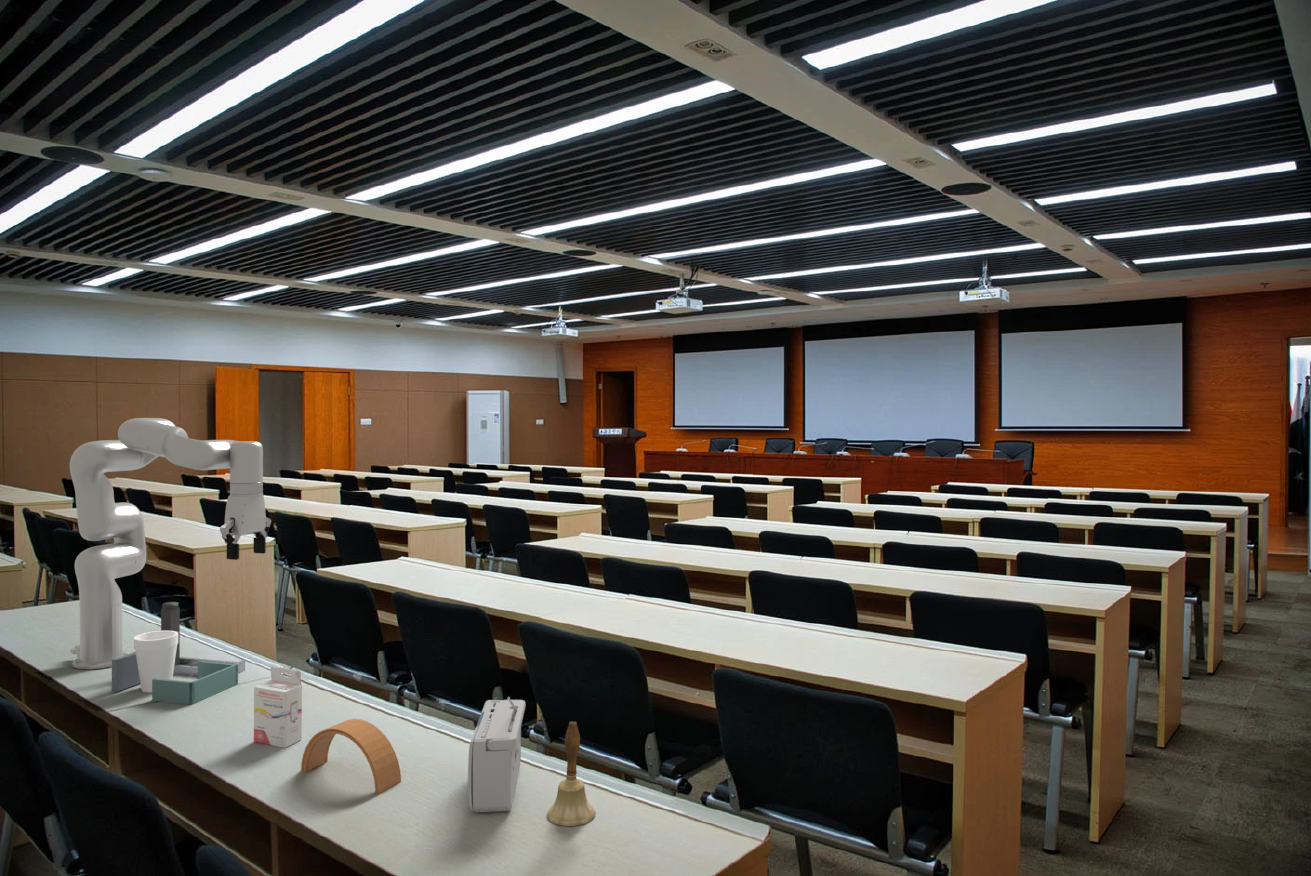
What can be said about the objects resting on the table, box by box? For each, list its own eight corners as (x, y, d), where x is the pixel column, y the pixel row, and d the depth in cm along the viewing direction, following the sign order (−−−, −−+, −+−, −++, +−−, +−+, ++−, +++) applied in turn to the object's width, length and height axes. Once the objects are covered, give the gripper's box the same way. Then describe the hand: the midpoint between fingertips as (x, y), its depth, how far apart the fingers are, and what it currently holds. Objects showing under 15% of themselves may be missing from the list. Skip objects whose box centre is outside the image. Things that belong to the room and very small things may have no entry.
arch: (377, 795, 149) (377, 740, 148) (300, 771, 158) (301, 719, 157) (401, 782, 154) (401, 729, 153) (325, 760, 163) (325, 710, 163)
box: (152, 700, 194) (152, 679, 194) (200, 680, 209) (200, 660, 209) (192, 704, 192) (192, 683, 192) (237, 684, 207) (237, 664, 207)
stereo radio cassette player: (483, 765, 162) (483, 663, 161) (525, 764, 162) (526, 663, 162) (466, 817, 141) (467, 701, 140) (515, 816, 141) (516, 700, 141)
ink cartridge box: (252, 742, 171) (252, 672, 170) (270, 734, 175) (270, 665, 175) (285, 748, 168) (285, 677, 168) (303, 739, 173) (303, 670, 172)
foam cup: (187, 682, 207) (186, 631, 207) (161, 695, 198) (161, 641, 198) (151, 681, 208) (151, 629, 208) (124, 693, 199) (124, 639, 199)
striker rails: (134, 669, 217) (134, 660, 217) (155, 661, 224) (155, 652, 224) (225, 678, 211) (225, 668, 211) (245, 670, 218) (245, 660, 218)
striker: (100, 690, 200) (100, 620, 200) (170, 664, 221) (169, 601, 220) (116, 691, 199) (116, 622, 199) (185, 665, 220) (185, 602, 219)
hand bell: (547, 804, 146) (548, 714, 145) (595, 803, 147) (596, 714, 146) (545, 827, 138) (546, 732, 137) (595, 826, 138) (596, 732, 138)
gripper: (257, 486, 220) (257, 550, 221) (208, 492, 204) (208, 561, 204) (281, 487, 219) (281, 551, 219) (235, 493, 202) (235, 562, 202)
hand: (246, 556), depth 212 cm, fingers open, 9 cm apart
